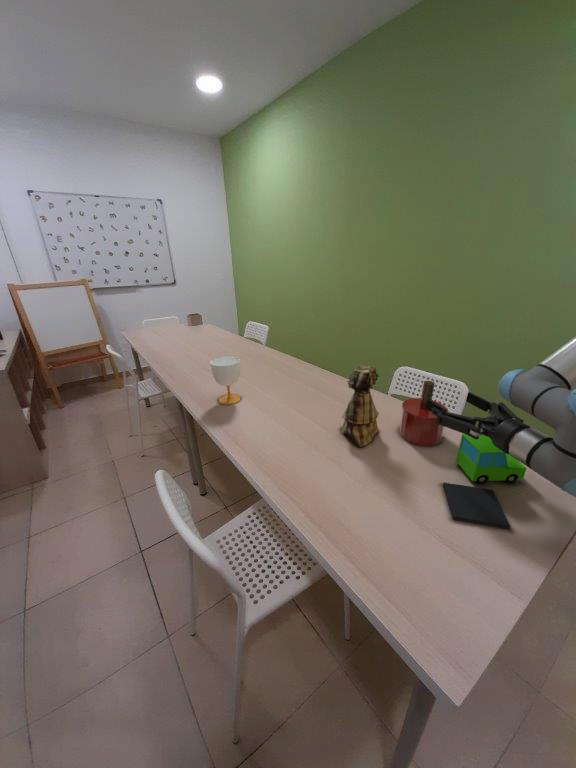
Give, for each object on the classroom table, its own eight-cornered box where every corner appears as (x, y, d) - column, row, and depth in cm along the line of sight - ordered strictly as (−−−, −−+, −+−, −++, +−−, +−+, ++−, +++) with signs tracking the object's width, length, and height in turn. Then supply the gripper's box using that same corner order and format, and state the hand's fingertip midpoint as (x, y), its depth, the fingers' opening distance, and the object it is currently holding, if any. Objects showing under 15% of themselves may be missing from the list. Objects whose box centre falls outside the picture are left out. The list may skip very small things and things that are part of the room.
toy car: (526, 486, 76) (538, 453, 72) (473, 487, 76) (483, 455, 72) (499, 460, 85) (509, 430, 81) (453, 462, 85) (460, 432, 81)
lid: (443, 403, 99) (448, 376, 95) (452, 424, 87) (459, 393, 83) (400, 399, 102) (403, 373, 98) (403, 419, 90) (407, 389, 86)
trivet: (491, 492, 74) (492, 489, 74) (509, 529, 64) (510, 525, 64) (442, 485, 77) (443, 482, 76) (452, 519, 67) (453, 516, 66)
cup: (231, 391, 133) (227, 354, 126) (249, 398, 126) (246, 360, 119) (209, 400, 125) (204, 362, 118) (227, 408, 118) (222, 368, 111)
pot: (437, 427, 102) (442, 402, 98) (445, 448, 91) (451, 421, 87) (398, 422, 105) (401, 398, 101) (401, 443, 94) (405, 416, 90)
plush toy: (323, 432, 99) (343, 365, 86) (342, 416, 109) (362, 354, 97) (362, 454, 92) (389, 385, 80) (378, 435, 103) (404, 371, 90)
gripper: (469, 466, 63) (407, 418, 82) (557, 446, 69) (481, 405, 88) (477, 436, 60) (411, 394, 79) (569, 417, 66) (487, 382, 85)
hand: (447, 400), depth 84 cm, fingers open, 13 cm apart
